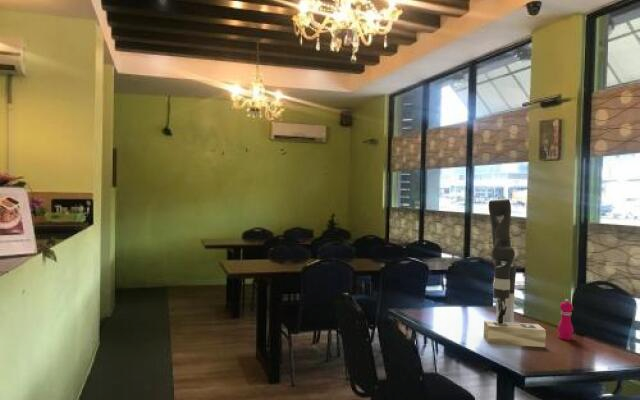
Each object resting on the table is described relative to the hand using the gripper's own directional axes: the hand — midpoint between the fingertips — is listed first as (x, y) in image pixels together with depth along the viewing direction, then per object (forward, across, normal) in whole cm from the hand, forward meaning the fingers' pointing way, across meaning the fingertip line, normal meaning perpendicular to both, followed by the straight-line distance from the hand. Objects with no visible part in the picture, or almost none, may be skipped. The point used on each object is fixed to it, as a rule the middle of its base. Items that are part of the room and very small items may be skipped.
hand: (500, 323), depth 249 cm
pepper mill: (+9, -15, +36) cm, 40 cm away
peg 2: (+8, 0, +13) cm, 15 cm away
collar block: (+9, 0, +6) cm, 11 cm away
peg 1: (+8, 0, 0) cm, 8 cm away
